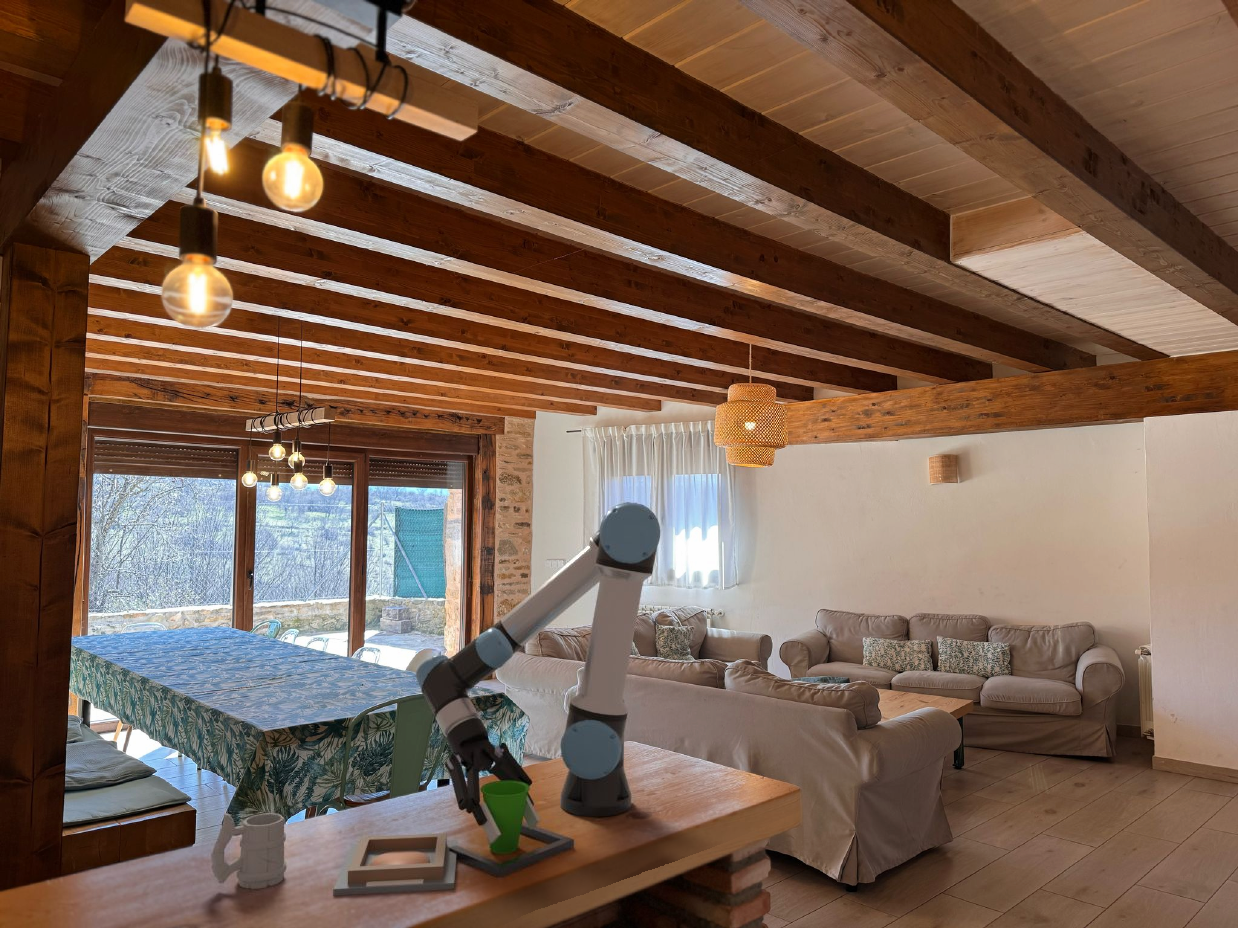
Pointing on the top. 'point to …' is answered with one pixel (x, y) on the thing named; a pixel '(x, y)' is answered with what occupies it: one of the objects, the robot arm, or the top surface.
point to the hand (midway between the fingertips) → (516, 831)
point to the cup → (506, 812)
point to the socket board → (400, 888)
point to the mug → (252, 851)
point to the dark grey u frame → (501, 869)
